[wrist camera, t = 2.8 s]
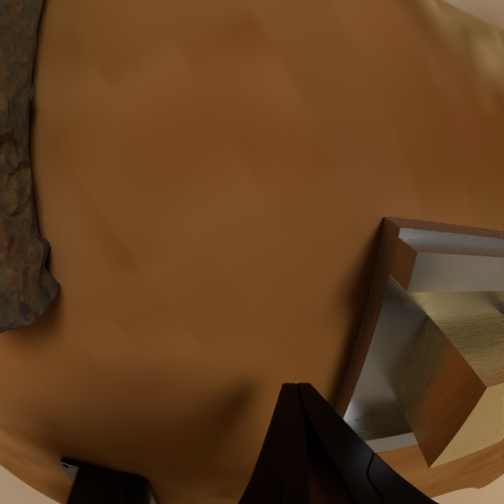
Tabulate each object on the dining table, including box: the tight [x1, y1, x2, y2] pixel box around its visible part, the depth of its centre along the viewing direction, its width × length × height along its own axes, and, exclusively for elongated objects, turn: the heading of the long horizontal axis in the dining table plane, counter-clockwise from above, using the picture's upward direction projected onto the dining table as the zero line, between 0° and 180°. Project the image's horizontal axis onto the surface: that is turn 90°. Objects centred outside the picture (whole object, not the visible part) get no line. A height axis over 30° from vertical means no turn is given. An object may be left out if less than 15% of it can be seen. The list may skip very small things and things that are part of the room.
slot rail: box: [334, 217, 504, 453], centre depth 11 cm, size 10×14×2 cm
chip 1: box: [394, 309, 504, 468], centre depth 9 cm, size 4×4×4 cm
